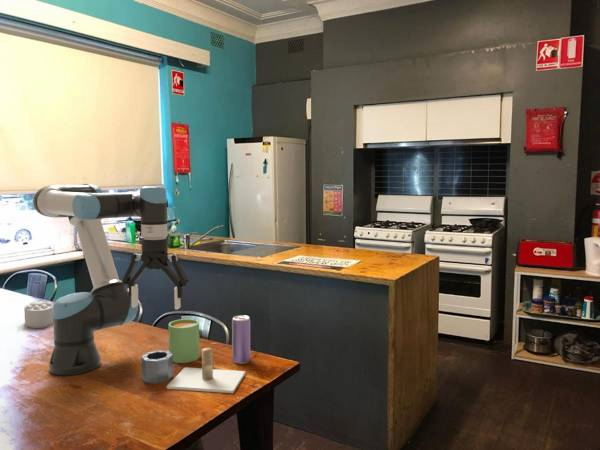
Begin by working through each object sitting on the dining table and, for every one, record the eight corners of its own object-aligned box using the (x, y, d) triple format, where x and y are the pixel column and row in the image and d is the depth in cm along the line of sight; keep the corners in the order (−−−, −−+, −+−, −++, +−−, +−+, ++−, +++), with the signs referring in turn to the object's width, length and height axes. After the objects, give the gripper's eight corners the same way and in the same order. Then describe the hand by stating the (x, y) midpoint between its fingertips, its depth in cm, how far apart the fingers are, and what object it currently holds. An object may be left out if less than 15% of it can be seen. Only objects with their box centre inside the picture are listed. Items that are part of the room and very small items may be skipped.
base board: (166, 388, 141) (166, 386, 141) (184, 369, 155) (184, 367, 154) (233, 393, 138) (233, 390, 138) (245, 373, 152) (245, 371, 152)
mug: (206, 357, 166) (205, 323, 164) (180, 365, 158) (179, 330, 157) (185, 348, 174) (184, 315, 173) (159, 355, 167) (158, 321, 165)
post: (200, 380, 145) (200, 351, 144) (204, 375, 148) (203, 347, 147) (210, 380, 144) (210, 351, 143) (214, 376, 148) (213, 348, 147)
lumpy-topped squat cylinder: (50, 317, 210) (49, 298, 209) (57, 324, 200) (56, 304, 199) (23, 322, 204) (22, 302, 203) (29, 329, 194) (28, 308, 193)
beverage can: (247, 365, 159) (246, 320, 157) (229, 363, 160) (229, 319, 158) (252, 358, 164) (252, 315, 163) (235, 357, 166) (235, 314, 164)
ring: (137, 382, 145) (137, 359, 144) (150, 371, 153) (150, 349, 153) (165, 384, 144) (164, 361, 143) (176, 372, 152) (176, 351, 151)
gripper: (108, 238, 142) (111, 308, 144) (189, 240, 139) (191, 312, 141) (121, 235, 150) (123, 302, 152) (198, 237, 146) (200, 305, 148)
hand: (156, 307), depth 146 cm, fingers open, 13 cm apart
